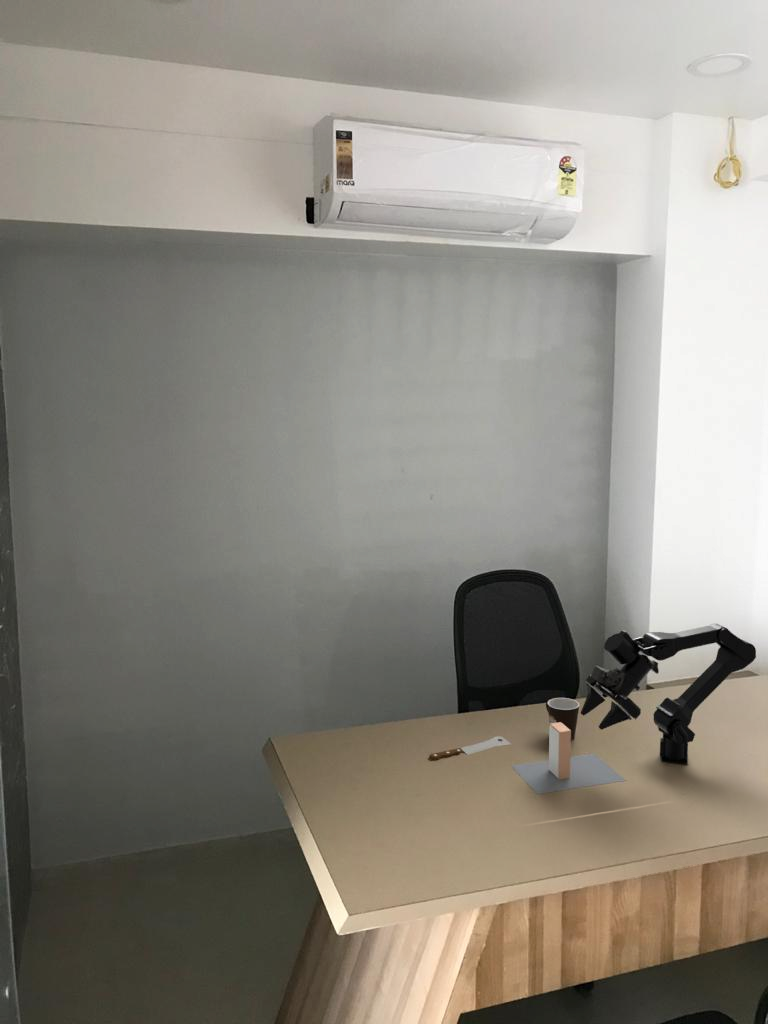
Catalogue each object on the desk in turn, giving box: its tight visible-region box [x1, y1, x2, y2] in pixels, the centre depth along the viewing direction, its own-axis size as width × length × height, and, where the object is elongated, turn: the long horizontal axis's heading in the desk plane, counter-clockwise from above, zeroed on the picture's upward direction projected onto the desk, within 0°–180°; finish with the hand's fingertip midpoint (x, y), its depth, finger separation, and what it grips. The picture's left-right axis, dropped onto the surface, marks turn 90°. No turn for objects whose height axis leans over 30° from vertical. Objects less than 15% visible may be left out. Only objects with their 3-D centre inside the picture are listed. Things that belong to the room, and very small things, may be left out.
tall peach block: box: [548, 722, 572, 779], centre depth 219 cm, size 3×6×12 cm, turn 15°
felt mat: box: [510, 753, 627, 795], centre depth 220 cm, size 24×16×1 cm, turn 105°
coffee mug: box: [545, 697, 580, 742], centre depth 243 cm, size 12×9×10 cm
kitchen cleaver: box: [428, 735, 512, 761], centre depth 233 cm, size 24×1×10 cm
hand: (590, 721), depth 220 cm, fingers open, 9 cm apart
